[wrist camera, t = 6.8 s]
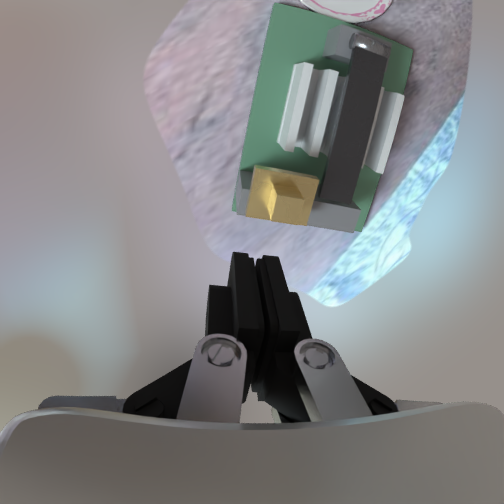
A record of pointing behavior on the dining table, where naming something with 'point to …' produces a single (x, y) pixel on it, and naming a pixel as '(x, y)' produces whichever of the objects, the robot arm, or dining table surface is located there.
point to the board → (316, 110)
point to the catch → (281, 195)
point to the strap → (354, 118)
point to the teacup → (349, 9)
